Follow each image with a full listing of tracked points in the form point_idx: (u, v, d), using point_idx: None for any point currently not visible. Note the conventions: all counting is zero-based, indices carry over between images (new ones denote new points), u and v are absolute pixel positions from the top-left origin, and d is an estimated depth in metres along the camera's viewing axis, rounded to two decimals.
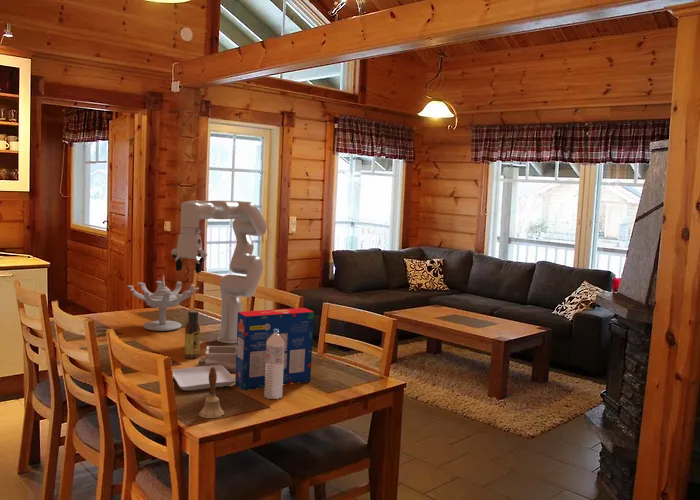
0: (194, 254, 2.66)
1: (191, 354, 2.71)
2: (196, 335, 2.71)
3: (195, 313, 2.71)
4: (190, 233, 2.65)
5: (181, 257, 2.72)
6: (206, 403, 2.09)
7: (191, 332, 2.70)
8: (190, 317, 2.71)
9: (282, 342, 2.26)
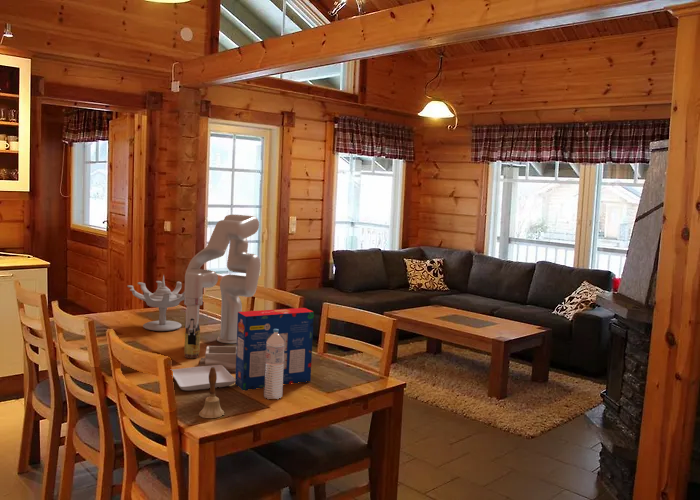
0: None
1: (191, 354, 2.71)
2: (196, 335, 2.71)
3: None
4: None
5: (190, 330, 2.70)
6: (206, 403, 2.09)
7: None
8: None
9: (282, 342, 2.26)
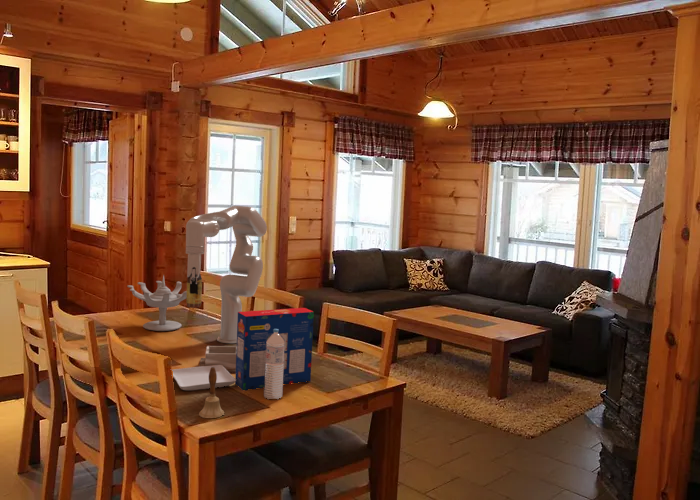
0: None
1: (193, 304, 2.69)
2: (198, 284, 2.69)
3: None
4: None
5: None
6: (206, 403, 2.09)
7: None
8: None
9: (282, 342, 2.26)
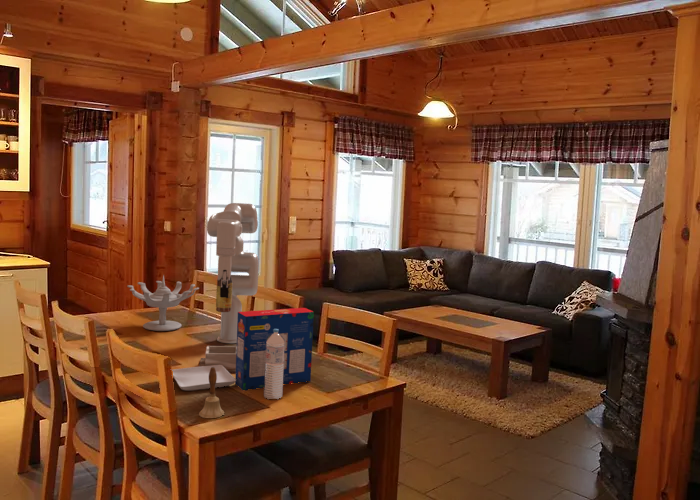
0: None
1: (224, 308, 2.57)
2: (229, 287, 2.57)
3: None
4: None
5: None
6: (206, 403, 2.09)
7: None
8: None
9: (282, 342, 2.26)
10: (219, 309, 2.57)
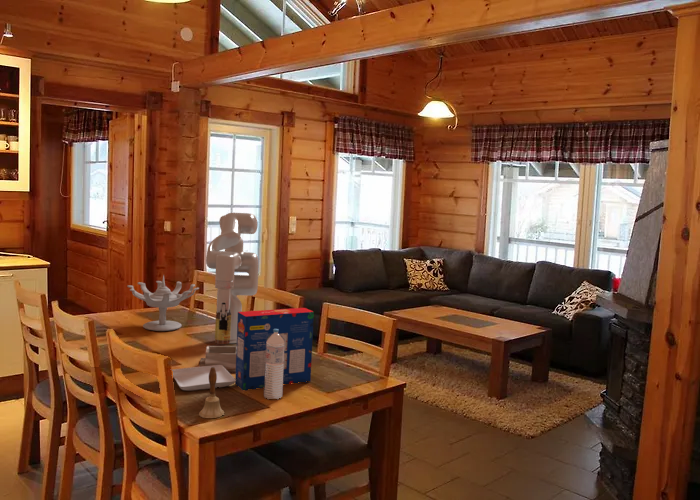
0: None
1: (222, 340, 2.58)
2: (227, 320, 2.58)
3: None
4: None
5: None
6: (206, 403, 2.09)
7: None
8: None
9: (282, 342, 2.26)
10: (218, 341, 2.59)
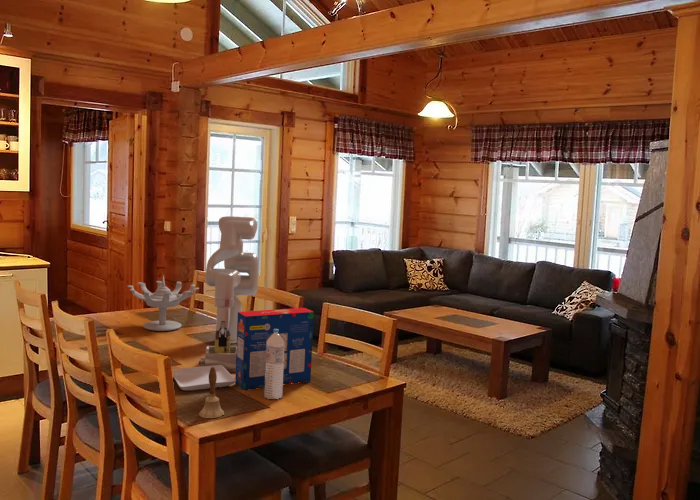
0: None
1: None
2: (227, 341, 2.60)
3: None
4: None
5: None
6: (206, 403, 2.09)
7: None
8: None
9: (282, 342, 2.26)
10: None
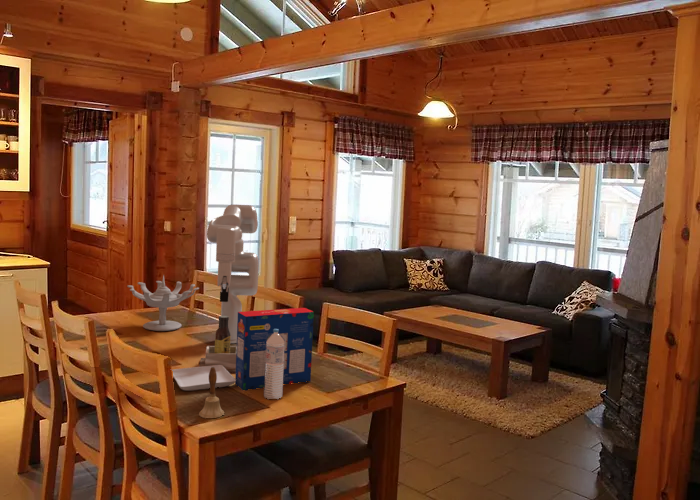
0: None
1: None
2: (227, 341, 2.60)
3: (226, 318, 2.60)
4: None
5: (222, 287, 2.55)
6: (206, 403, 2.09)
7: (221, 338, 2.59)
8: (220, 322, 2.60)
9: (282, 342, 2.26)
10: None
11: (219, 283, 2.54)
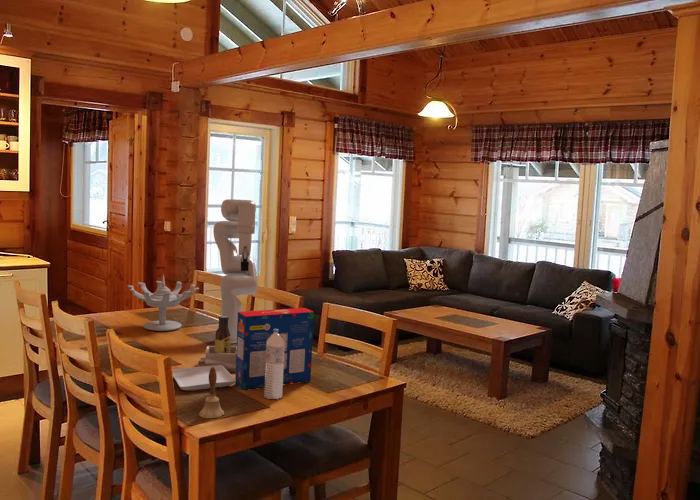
0: None
1: None
2: (227, 341, 2.60)
3: (225, 318, 2.60)
4: None
5: (243, 257, 2.72)
6: (206, 403, 2.09)
7: (221, 338, 2.59)
8: (220, 322, 2.60)
9: (282, 342, 2.26)
10: None
11: (240, 253, 2.71)
